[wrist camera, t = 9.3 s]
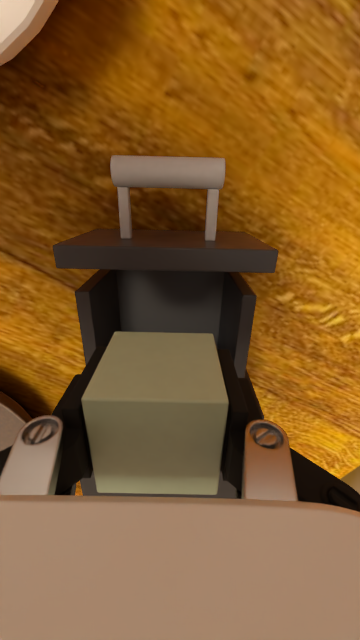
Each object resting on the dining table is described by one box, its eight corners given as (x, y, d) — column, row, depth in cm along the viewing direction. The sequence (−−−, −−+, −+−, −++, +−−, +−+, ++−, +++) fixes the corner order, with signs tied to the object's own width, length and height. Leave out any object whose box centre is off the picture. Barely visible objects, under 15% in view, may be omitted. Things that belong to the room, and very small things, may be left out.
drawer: (89, 164, 19) (33, 143, 11) (252, 168, 19) (296, 150, 12) (111, 373, 26) (86, 439, 19) (228, 375, 26) (245, 442, 19)
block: (114, 330, 12) (79, 399, 8) (213, 332, 12) (229, 401, 8) (121, 406, 14) (96, 493, 10) (207, 408, 14) (217, 496, 10)
